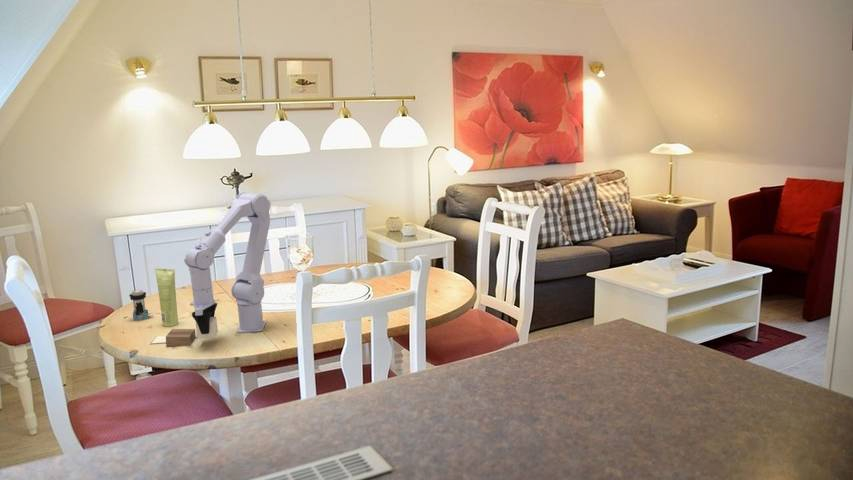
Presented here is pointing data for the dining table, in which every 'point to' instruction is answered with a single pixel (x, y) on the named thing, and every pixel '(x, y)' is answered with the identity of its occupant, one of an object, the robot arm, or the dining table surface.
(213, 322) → the cream cube
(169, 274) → the tube
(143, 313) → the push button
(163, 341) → the swatch
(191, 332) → the walnut block
